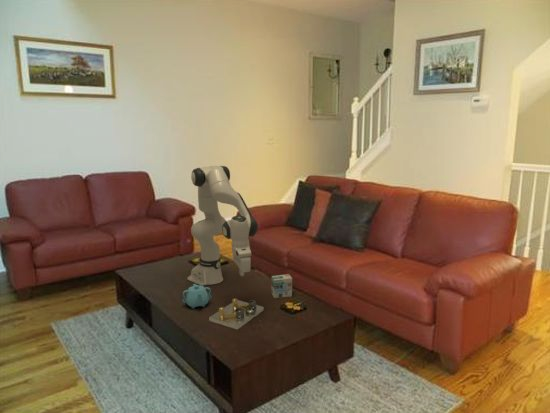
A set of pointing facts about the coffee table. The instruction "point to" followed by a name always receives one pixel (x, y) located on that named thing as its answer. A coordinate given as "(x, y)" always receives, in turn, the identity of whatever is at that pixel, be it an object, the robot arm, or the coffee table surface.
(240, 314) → the knob
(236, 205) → the robot arm
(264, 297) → the coffee table surface
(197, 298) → the teapot
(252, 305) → the knob
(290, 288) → the light bulb box
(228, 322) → the plate
